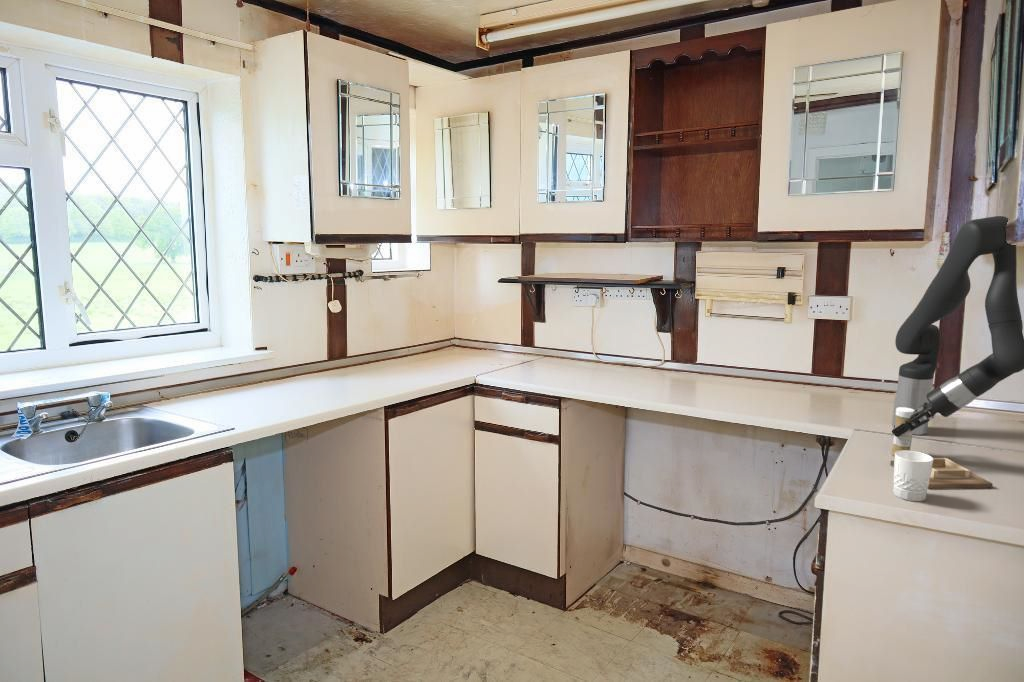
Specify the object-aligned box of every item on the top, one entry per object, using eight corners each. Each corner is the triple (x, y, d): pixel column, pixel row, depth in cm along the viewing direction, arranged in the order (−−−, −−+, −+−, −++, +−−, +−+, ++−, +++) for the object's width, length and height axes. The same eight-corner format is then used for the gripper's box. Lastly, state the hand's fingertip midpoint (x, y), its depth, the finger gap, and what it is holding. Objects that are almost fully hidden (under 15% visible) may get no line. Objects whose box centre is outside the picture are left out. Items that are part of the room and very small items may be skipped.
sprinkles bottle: (893, 451, 193) (898, 405, 191) (912, 455, 190) (917, 408, 187) (889, 455, 190) (894, 409, 187) (907, 459, 187) (913, 412, 184)
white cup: (882, 491, 166) (886, 451, 164) (910, 488, 168) (914, 449, 166) (908, 504, 158) (912, 463, 156) (936, 501, 160) (941, 460, 158)
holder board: (890, 465, 183) (891, 453, 182) (949, 464, 183) (950, 453, 183) (927, 488, 167) (929, 476, 166) (992, 488, 167) (993, 475, 167)
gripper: (942, 379, 188) (888, 414, 197) (939, 390, 176) (881, 427, 185) (963, 401, 186) (907, 436, 195) (961, 413, 174) (902, 450, 183)
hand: (895, 431), depth 190 cm, fingers closed on sprinkles bottle, 4 cm apart
